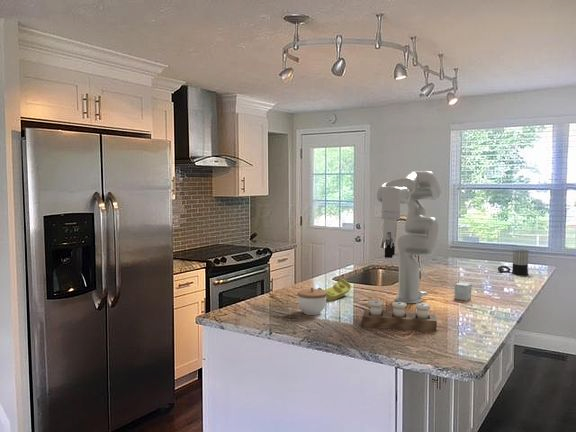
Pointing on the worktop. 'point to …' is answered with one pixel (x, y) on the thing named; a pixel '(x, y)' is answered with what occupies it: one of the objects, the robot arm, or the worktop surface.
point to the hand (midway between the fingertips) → (389, 256)
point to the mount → (399, 321)
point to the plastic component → (337, 290)
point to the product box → (463, 291)
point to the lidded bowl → (312, 301)
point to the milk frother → (518, 263)
